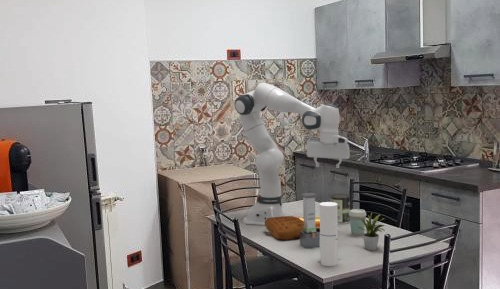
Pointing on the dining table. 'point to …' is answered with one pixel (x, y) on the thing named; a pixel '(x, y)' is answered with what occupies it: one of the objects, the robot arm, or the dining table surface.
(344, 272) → the dining table surface
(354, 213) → the coffee cup
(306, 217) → the column
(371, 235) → the house plant
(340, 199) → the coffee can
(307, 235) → the stand base
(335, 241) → the cylindrical container
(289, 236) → the cuneiform tablet
